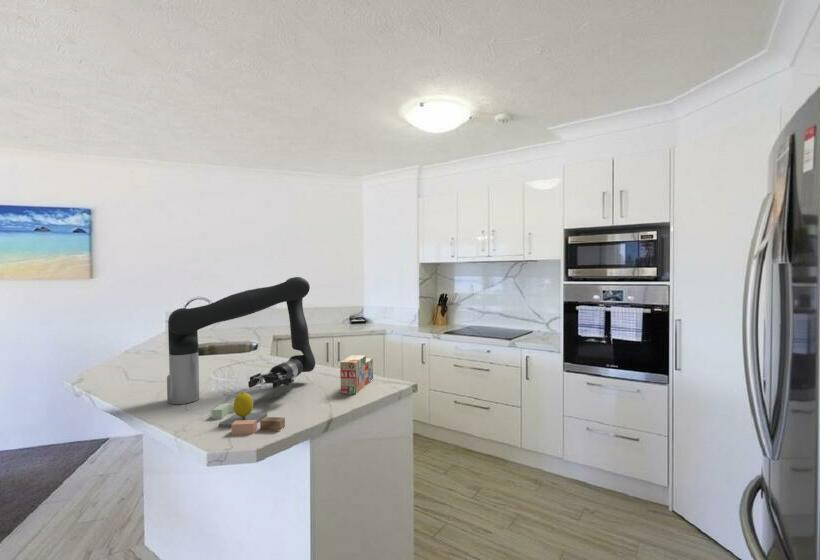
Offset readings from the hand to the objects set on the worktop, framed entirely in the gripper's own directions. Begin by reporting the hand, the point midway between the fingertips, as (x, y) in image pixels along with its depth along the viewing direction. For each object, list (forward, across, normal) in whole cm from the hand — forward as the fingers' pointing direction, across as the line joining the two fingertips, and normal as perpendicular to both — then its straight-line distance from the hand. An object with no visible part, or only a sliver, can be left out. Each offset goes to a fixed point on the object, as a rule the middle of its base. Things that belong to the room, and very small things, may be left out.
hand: (261, 384), depth 130 cm
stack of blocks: (-30, +25, +8) cm, 39 cm away
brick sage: (+7, -10, +8) cm, 15 cm away
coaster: (+11, 0, +8) cm, 14 cm away
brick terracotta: (+19, +5, +8) cm, 21 cm away
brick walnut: (+16, +12, +8) cm, 22 cm away
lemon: (+11, 0, +7) cm, 13 cm away
